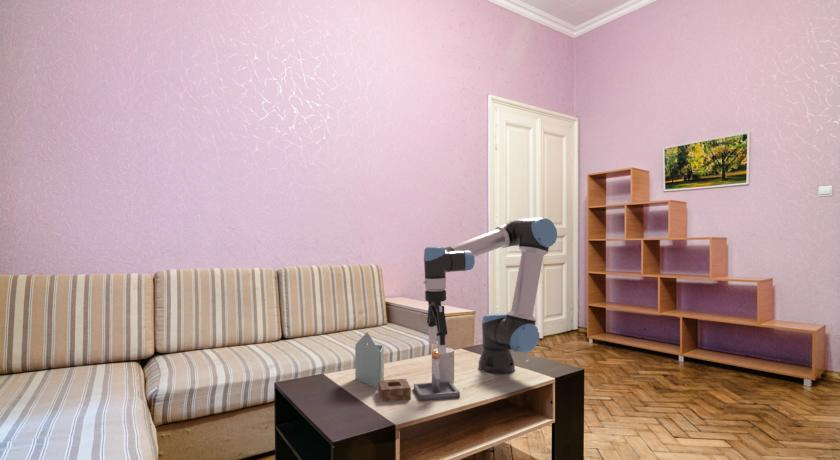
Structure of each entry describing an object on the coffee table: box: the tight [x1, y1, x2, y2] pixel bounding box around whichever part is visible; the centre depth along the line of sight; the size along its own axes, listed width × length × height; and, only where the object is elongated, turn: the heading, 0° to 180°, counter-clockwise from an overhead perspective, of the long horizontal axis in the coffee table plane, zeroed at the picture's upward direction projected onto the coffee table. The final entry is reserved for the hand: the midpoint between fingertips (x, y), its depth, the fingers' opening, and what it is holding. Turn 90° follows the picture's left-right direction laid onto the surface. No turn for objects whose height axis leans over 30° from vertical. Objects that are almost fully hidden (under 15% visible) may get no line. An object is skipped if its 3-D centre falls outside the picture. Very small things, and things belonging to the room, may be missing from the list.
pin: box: [431, 350, 440, 393], centre depth 158 cm, size 3×3×14 cm
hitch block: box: [377, 378, 412, 403], centre depth 156 cm, size 10×10×4 cm
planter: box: [354, 331, 385, 390], centre depth 171 cm, size 16×8×20 cm, turn 41°
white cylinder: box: [432, 347, 455, 384], centre depth 171 cm, size 8×8×12 cm
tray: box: [413, 381, 461, 402], centre depth 158 cm, size 14×12×2 cm
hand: (437, 348), depth 158 cm, fingers open, 13 cm apart
